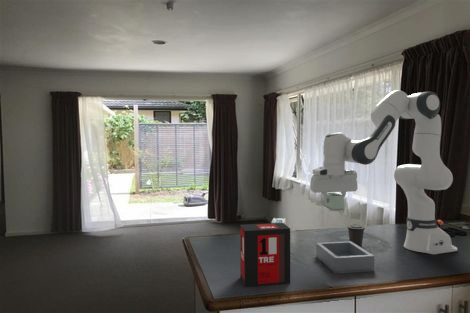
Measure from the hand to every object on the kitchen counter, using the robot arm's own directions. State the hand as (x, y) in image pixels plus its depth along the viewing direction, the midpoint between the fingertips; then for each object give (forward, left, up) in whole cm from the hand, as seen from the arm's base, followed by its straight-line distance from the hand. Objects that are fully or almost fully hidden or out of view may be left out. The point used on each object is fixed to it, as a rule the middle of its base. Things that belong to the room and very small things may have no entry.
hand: (333, 202), depth 155 cm
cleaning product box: (+35, +20, -24) cm, 47 cm away
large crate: (-1, +8, -24) cm, 25 cm away
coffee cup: (-17, -13, -24) cm, 32 cm away
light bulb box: (+17, -27, -24) cm, 40 cm away
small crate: (0, 0, -3) cm, 3 cm away
